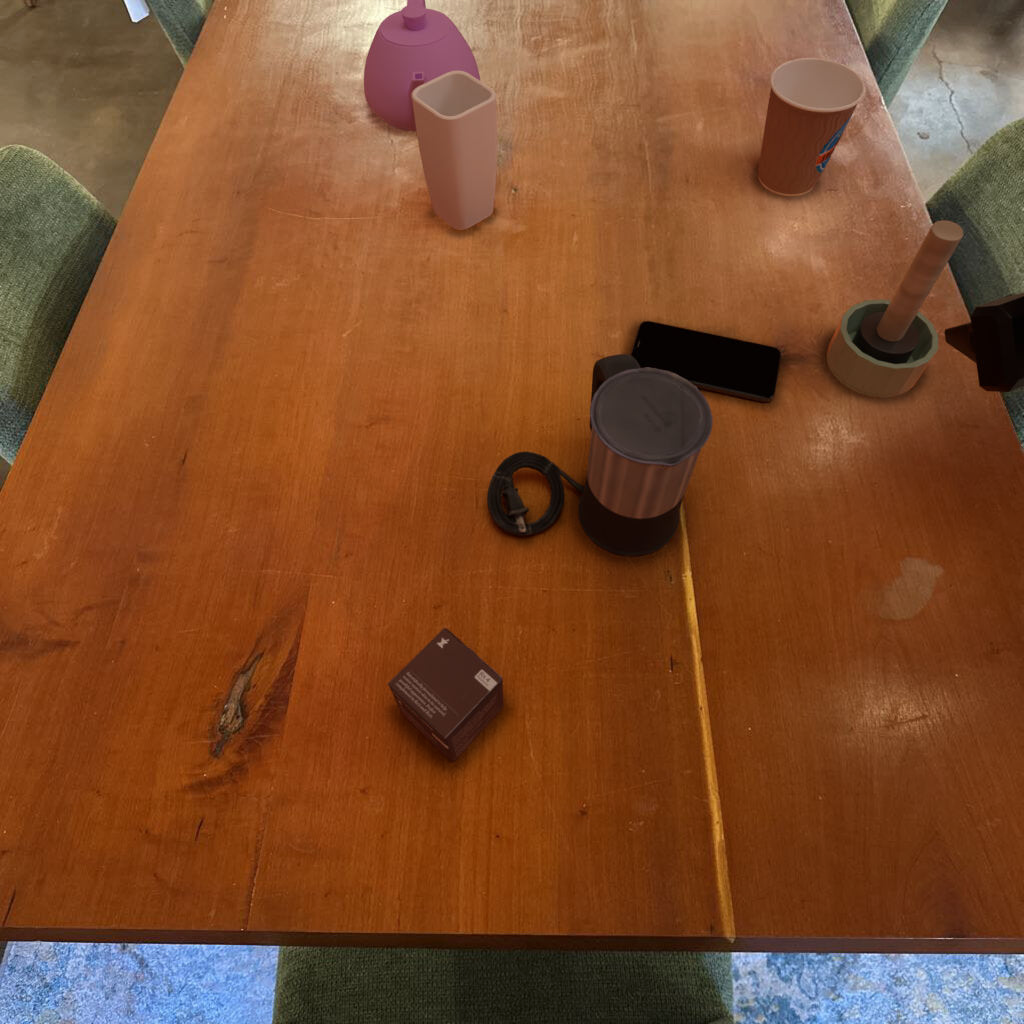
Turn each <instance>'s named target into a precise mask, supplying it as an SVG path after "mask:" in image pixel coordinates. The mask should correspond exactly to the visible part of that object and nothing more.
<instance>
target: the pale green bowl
mask: <svg viewBox="0 0 1024 1024" xmlns="http://www.w3.org/2000/svg"><path fill="white" fill-rule="evenodd" d="M890 302H891V300H889V299H885V298H878V299H866V300H863V301H861V302H858V303H855V304H853V305H851V306H850V307H849V308H848V309H847V310H846V311H845V312H844V313H843V315H842V316H841V318H840V320H839V323H838V324H837V327H836V329H835V331H834V333H833V335H832V338H831V339H830V342H829V344H828V347H827V349H826V364H827V367H828V368H829V371H830V372H831V374H832V375H833V377H834V378H835V379H836V380H837V381H838V382H839V383H840V384H841V385H843V386H844V387H846V388H848V389H849V390H851V391H853V392H854V393H857V394H860V395H863V396H867V397H872V398H880V399H881V398H885V399H886V398H894V397H898V396H901V395H904V394H906V393H907V392H908V391H910V390H911V389H912V388H913V387H914V386H915V385H916V383H917V382H918V380H919V379H920V378H921V377H922V375H923V373H924V372H925V370H926V369H927V368H928V366H929V364H930V363H931V361H932V360H933V358H934V357H935V355H936V354H937V352H938V350H939V339H940V338H939V334H938V332H937V330H936V328H935V326H934V325H933V322H932V321H930V319H929V318H927V317H926V316H925V315H924V313H922V312H921V311H920V310H919V311H918V313H917V315H916V316H915V318H914V320H913V321H912V323H913V324H914V325H915V326H916V328H917V330H918V332H919V336H920V339H919V343H918V345H917V347H916V348H915V350H914V351H913V353H912V355H911V356H910V358H909V359H908V361H907V363H904V364H892V363H888V362H883V361H878V360H876V359H874V358H872V357H870V356H868V355H867V354H865V353H863V352H861V351H860V350H859V349H858V348H857V347H856V346H855V345H854V344H853V343H852V340H853V338H854V336H855V334H856V332H857V330H858V328H859V326H860V324H861V323H862V321H863V319H864V318H865V317H867V316H868V315H870V314H873V313H876V312H885V311H886V309H887V308H888V306H889V304H890Z"/></svg>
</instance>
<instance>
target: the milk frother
mask: <svg viewBox="0 0 1024 1024" xmlns="http://www.w3.org/2000/svg"><path fill="white" fill-rule="evenodd" d="M713 422H714V418H713V412H712V410H711V406H710V403H709V402H708V400H707V399H706V397H705V395H704V394H703V393H702V392H701V390H700V389H699V388H697V387H696V386H694V385H693V384H692V383H691V382H689V381H688V380H686V379H684V378H682V377H680V376H679V375H677V374H675V373H672V372H669V371H666V370H661V369H657V368H650V367H646V368H641V367H640V365H639V364H638V362H637V361H636V359H635V358H634V357H633V356H631V355H630V354H628V353H620V354H613V355H608V356H605V357H602V358H599V359H597V360H596V361H595V363H594V365H593V367H592V379H591V394H590V406H589V429H590V441H589V450H588V459H587V467H586V475H585V483H584V485H582V484H581V483H579V482H578V481H576V480H575V479H574V478H572V477H571V476H570V475H569V474H568V473H566V472H565V471H564V470H562V469H561V467H559V466H558V465H557V464H555V462H553V461H551V460H550V459H549V458H548V457H546V456H544V455H542V454H540V453H536V452H533V451H519V452H514V453H513V454H511V455H508V456H507V457H506V458H505V459H503V460H502V461H501V463H500V464H499V465H498V466H497V468H496V469H495V471H494V473H493V474H492V476H491V480H490V482H489V485H488V490H487V495H486V496H487V497H486V504H487V509H488V512H489V515H490V517H491V519H492V521H493V522H494V523H495V525H496V526H497V527H498V528H499V529H501V531H503V532H505V533H507V534H510V535H511V536H515V537H528V536H532V535H533V536H534V535H536V534H540V533H542V532H543V531H545V530H547V529H549V528H550V527H552V526H553V524H554V523H555V522H556V521H557V519H558V518H559V516H560V514H561V513H562V510H563V507H564V504H565V489H564V483H563V480H562V478H563V479H564V480H565V481H566V482H568V484H569V485H570V486H571V487H572V488H573V489H575V490H576V491H578V492H579V493H581V495H580V497H579V500H578V506H577V513H578V519H579V523H580V525H581V527H582V529H583V531H584V533H585V534H586V535H587V536H588V538H589V539H590V540H591V541H592V542H593V543H594V544H596V545H597V546H599V547H600V548H602V549H603V550H605V551H607V552H609V553H612V554H615V555H619V556H625V557H627V556H628V557H638V556H646V555H649V554H652V553H655V552H656V551H658V550H660V549H661V548H663V547H664V546H666V544H668V543H669V542H670V541H671V539H673V537H674V535H675V533H676V531H677V529H678V527H679V523H680V511H681V506H682V503H683V500H684V497H685V494H686V492H687V488H688V486H689V484H690V481H691V479H692V476H693V473H694V470H695V467H696V465H697V461H698V460H699V456H700V453H701V450H702V448H703V447H704V446H705V445H706V444H707V442H708V440H709V438H710V437H711V434H712V429H713ZM521 469H532V470H534V471H537V472H538V473H539V474H541V475H542V476H543V477H544V478H545V479H546V480H547V482H548V484H549V487H550V500H549V504H548V507H547V508H546V511H545V512H544V513H543V515H542V516H541V517H539V518H538V519H537V520H534V521H532V522H529V523H527V522H526V520H525V518H524V517H525V516H526V515H527V513H528V512H530V508H529V507H528V506H527V507H526V506H525V505H524V502H523V500H522V498H521V496H520V493H518V492H519V488H517V487H515V484H514V478H513V475H514V474H515V473H516V472H517V471H518V470H521ZM561 477H562V478H561ZM502 498H503V501H504V506H505V510H504V507H503V502H502Z"/></svg>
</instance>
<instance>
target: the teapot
mask: <svg viewBox="0 0 1024 1024" xmlns="http://www.w3.org/2000/svg"><path fill="white" fill-rule="evenodd" d="M371 41H372V42H371V43H370V46H369V49H368V51H367V54H366V58H365V64H364V68H363V69H364V70H363V71H364V72H363V91H364V99H365V101H366V103H367V105H368V106H369V107H370V110H371V111H372V112H373V113H374V114H375V115H376V116H377V117H379V118H380V119H381V120H382V121H383V122H385V123H386V124H388V125H389V126H391V127H393V128H395V129H398V130H401V131H405V132H409V133H410V132H411V133H417V131H416V124H415V116H414V109H413V101H412V92H413V91H414V89H416V88H417V87H419V86H421V85H423V84H425V83H427V82H429V81H431V80H433V79H435V78H437V77H439V76H441V75H443V74H445V73H448V72H451V71H464V72H466V73H469V74H470V75H472V76H473V77H475V78H476V79H478V80H479V81H481V76H480V71H479V67H478V64H477V60H476V58H475V55H474V52H473V51H472V49H471V47H470V44H469V43H468V42H467V40H466V39H465V37H464V35H463V34H462V33H461V31H460V29H459V28H458V27H457V25H456V24H455V23H454V22H453V21H452V19H451V18H450V17H449V16H448V15H446V14H444V13H443V12H441V11H439V10H436V9H432V8H427V5H426V0H406V6H403V8H402V9H401V10H399V11H396V12H393V13H391V14H390V15H388V16H387V17H385V18H384V19H383V20H382V21H381V23H380V24H379V26H378V27H377V29H376V31H375V34H374V36H373V38H372V40H371Z"/></svg>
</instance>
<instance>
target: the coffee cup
mask: <svg viewBox="0 0 1024 1024" xmlns="http://www.w3.org/2000/svg"><path fill="white" fill-rule="evenodd" d="M769 84H770V91H769V97H768V103H767V109H766V118H765V121H764V122H765V124H764V129H763V136H762V142H761V148H760V154H759V159H758V160H759V161H758V174H757V175H758V180H759V183H760V184H761V185H762V186H763V187H764V188H765V189H766V190H767V191H769V192H771V193H773V194H776V195H780V196H783V197H798V196H802V195H805V194H808V193H809V192H811V191H812V189H814V187H815V185H816V184H817V182H818V181H819V180H820V178H821V176H822V174H823V172H824V171H825V170H826V166H827V165H828V163H829V161H830V159H831V157H832V155H833V153H834V151H835V149H836V147H837V146H838V144H839V142H840V139H841V138H842V136H843V134H844V131H845V130H846V128H847V126H848V124H849V123H850V121H851V118H852V117H853V114H854V112H855V110H856V108H857V106H858V104H859V103H860V102H861V101H863V99H864V97H865V95H866V83H865V81H864V79H863V77H862V76H861V75H860V74H859V73H858V72H856V70H854V69H852V68H851V67H849V66H848V65H846V64H843V63H840V62H838V61H835V60H831V59H827V58H819V57H800V58H795V59H790V60H787V61H784V62H783V63H781V64H779V65H778V66H777V67H775V69H774V70H773V71H772V73H771V74H770V77H769Z"/></svg>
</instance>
